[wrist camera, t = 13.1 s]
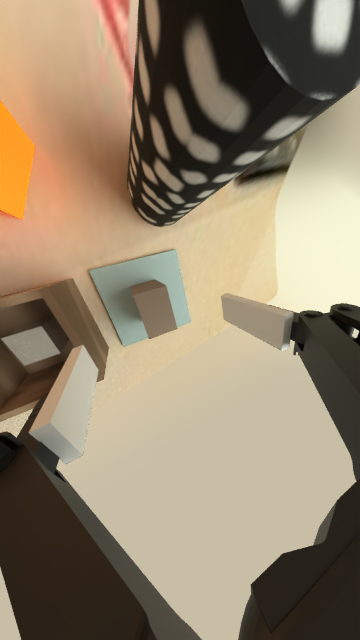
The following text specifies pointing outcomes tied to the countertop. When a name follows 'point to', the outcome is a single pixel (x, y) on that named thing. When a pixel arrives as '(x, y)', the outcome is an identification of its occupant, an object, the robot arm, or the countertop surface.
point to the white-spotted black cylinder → (228, 90)
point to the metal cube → (37, 340)
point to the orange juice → (14, 164)
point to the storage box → (39, 377)
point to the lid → (143, 296)
